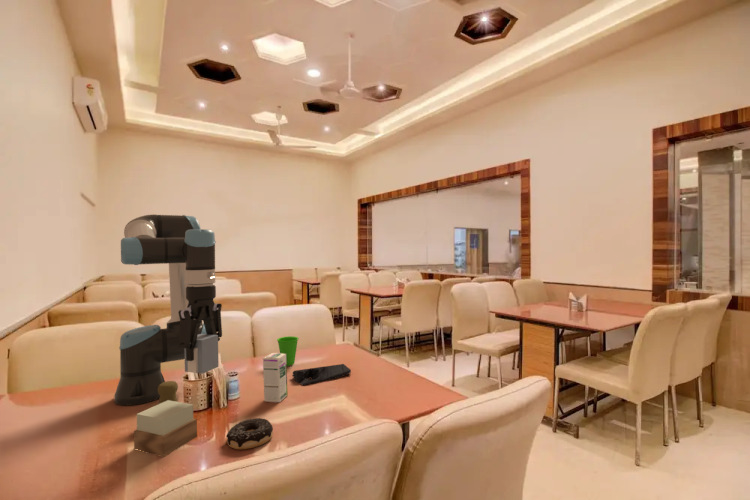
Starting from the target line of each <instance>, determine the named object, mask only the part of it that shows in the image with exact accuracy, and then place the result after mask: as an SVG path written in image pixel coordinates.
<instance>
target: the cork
mask: <svg viewBox="0 0 750 500" xmlns="http://www.w3.org/2000/svg"><path fill="white" fill-rule="evenodd" d="M178 388H179V385H178V383H177V382H176V381H174V380H166V381H165V382H163V383H161V384H160V385H159V386H158V394H159V395H160V398H159V399H158V400H159V401H158V404H160V403H163V402H165V401H167V400H170V401H176V402H178V396H177V391H178Z"/></svg>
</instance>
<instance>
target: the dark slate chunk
mask: <svg viewBox="0 0 750 500" xmlns="http://www.w3.org/2000/svg"><path fill="white" fill-rule="evenodd" d="M351 372H352V369H350V367H348V366H347V365H345V364H344V363H341V364H332V365H326V366H318V367H311V368H304V369H297V370H293V372H292V377H293V380H294V381H295V382H296V383H297V384H299V385H302V386H308V385H310V384H311V385H313V384H317V383H322V382H325V381H328V380H332V379H337V378H341V377H345V376H347V375H349V374H351Z"/></svg>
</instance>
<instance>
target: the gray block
mask: <svg viewBox="0 0 750 500" xmlns="http://www.w3.org/2000/svg"><path fill="white" fill-rule="evenodd" d="M190 344H191V343H190ZM195 348H198V372H197V373H196V374H201V375H203V374H206V373H208V372H209V371H212V370H215V369H216V368H219V341H218V335H210V334H199V335H197V340H196V345H195ZM184 372H186V373H189V372H188V361H187V360H186V349H185V359H184ZM191 373H193V372H191Z"/></svg>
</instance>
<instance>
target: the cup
mask: <svg viewBox="0 0 750 500" xmlns="http://www.w3.org/2000/svg"><path fill="white" fill-rule="evenodd" d="M299 338H300V337H298V336H283V337H279V338H277V340H276V341H277V343H278V348H279V353H285V354H286V364H287V367H290V365H291V366H293V364H294V365H295V362H296V361H295V360H296V354H297V347H298V346H297V345H298V340H299Z"/></svg>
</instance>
